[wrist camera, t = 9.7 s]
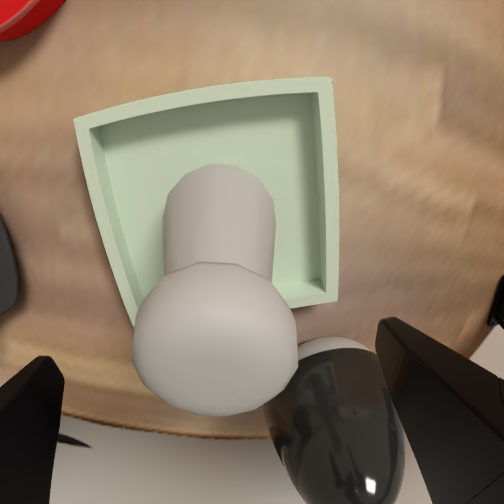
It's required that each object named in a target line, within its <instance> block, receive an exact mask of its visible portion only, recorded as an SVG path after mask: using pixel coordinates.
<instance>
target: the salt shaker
mask: <svg viewBox="0 0 504 504" xmlns="http://www.w3.org/2000/svg"><path fill="white" fill-rule="evenodd" d="M275 233H276V218H275V210H274V202H273V199H272V197H271V196H270V194H269V192H268V191H267V189H266V188H265V186H264V185H263V183H262V182H261V180H260V179H259V178H257V177H256V176H254V175H252V174H250V173H249V172H247V171H245V170H243V169H241V168H240V167H238V166H236V165H225V164H208V165H206V166H203V167H201V168H198V169H196V170H193V171H191V172H189V173H187V174H185V175H184V176H183V177H182V178H181V179H180V181H179V182H178V183H177V184H176V185H175V186H174V187H173V189H172V190H171V191H170V192H169V193H168V196H167V200H166V204H165V209H164V213H163V250H164V272H165V277H163V278H162V279H161V281H160V282H159V283H158V284H157V285H156V286H155V287H154V288H153V289H152V290H151V291H150V293H149V294H148V295H147V296H146V297H145V298H144V299H143V300H142V302H141V304H140V307H139V309H138V311H137V314H136V318H135V326H134V335H133V346H132V362H133V364H134V366H135V368H136V370H137V372H138V374H139V376H140V378H141V380H142V382H143V384H144V385H145V386H146V387H147V388H149V389H150V390H151V391H152V392H153V393H155V394H156V395H157V396H159V397H160V398H161V399H163V400H164V401H166V402H167V403H168V404H170V405H171V406H173V407H175V408H178V409H181V410H184V411H187V412H190V413H193V414H196V415H201V416H231V415H235V414H239V413H244V412H248V411H252V410H255V409H256V408H258V407H260V406H261V405H263V404H264V403H266V402H267V401H269V400H270V399H272V398H273V397H275V396H276V395H277V394H279V393H280V392H281V391H283V390H284V389H285V387H286V386H287V384H288V382H289V381H290V379H291V378H292V376H293V375H294V373H295V371H296V370H297V368H298V346H297V332H296V322H295V319H294V317H293V314H292V312H291V309H290V307H289V306H288V304H287V303H286V301H285V300H284V299H283V297H282V296H281V295H280V293H279V292H278V290H277V289H276V288H275V286H274V285H273V284H272V273H273V260H274V247H275Z"/></svg>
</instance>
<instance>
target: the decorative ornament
mask: <svg viewBox="0 0 504 504" xmlns="http://www.w3.org/2000/svg"><path fill="white" fill-rule="evenodd" d="M64 2H65V0H0V41H6V40H12V39H17V38H19V37H22V36H24V35H26V34H27V33H29V32H31V31H33V30H34V29H36V28H37V27H39V26H40V25H41V24H43V23H44V22H45V21H46V20H47V19H48V18H50V17H51V16H52V15H53V14H54V13H55V12H56V11H57V10H58V9H59V8H60V6H61V5H62V4H63V3H64Z"/></svg>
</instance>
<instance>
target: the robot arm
mask: <svg viewBox="0 0 504 504" xmlns="http://www.w3.org/2000/svg"><path fill="white" fill-rule="evenodd" d="M498 324H499V325H500V326H501V327H502V328H503V329H504V276H503V278H502V280H501V284H500V287H499V290H498V293H497V297H496V300H495V303H494V306H493V309H492V312H491V315H490V317H489V320H488V323H487V325H488V326H489V327H493V326H496V325H498ZM375 348H376V353H377V356H378V359H379V362H380V365H381V368H382V371H383V375H384V378H385V381H386V384H387V388H388V391H389V394H390V397H391V400H392V402H393V405H394V407H395V410H396V412H397V414H398V417H399V419H400V421H401V424H402V426H403V428H404V431H405V433H406V435H407V438H408V441H409V443H410V445H411V448H412V450H413V453H414V455H415V458H416V460H417V463H418V466H419V468H420V471H421V474H422V476H423V479H424V481H425V484H426V486H427V489H428V492H429V495H430V498H431V500H432V503H433V504H504V380H503V379H501V378H498V377H497V376H496V375H495V374H493V373H491V372H489V371H488V370H486V369H484V368H483V367H481V366H479V365H477V364H476V363H474V362H472V361H471V360H469V359H467V358H466V357H464V356H462V355H460V354H459V353H457V352H455V351H454V350H452V349H450V348H448V347H447V346H445V345H443V344H442V343H440V342H438V341H436V340H435V339H433V338H431V337H429V336H428V335H426V334H424V333H423V332H421V331H419V330H417V329H416V328H414V327H412V326H410V325H409V324H407V323H405V322H403V321H402V320H400V319H398V318H396V317H389V318H385V319H381V320H380V321H379V324H378V329H377V335H376V341H375ZM64 383H65V382H64V377H63V374H62V373H61V371H60V370H59V368H58V366H57V365H56V363H55V362H54V360H53V359H52V358H51V357H50V356H38V357H36V358H35V359H34V360H33V361H31V362H30V363H29V364H28V365H26V366H25V367H24V368H23V369H22V370H20V371H19V372H18V373H17V374H16V375H14V376H13V377H12V378H11V379H10V380H8V381H7V382H6V383H5V384H4V385H2V386H1V387H0V504H49V499H50V489H51V480H52V472H53V465H54V458H55V450H56V444H57V439H58V434H59V427H60V418H61V408H62V400H63V391H64Z"/></svg>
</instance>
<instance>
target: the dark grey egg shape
mask: <svg viewBox="0 0 504 504" xmlns="http://www.w3.org/2000/svg"><path fill="white" fill-rule="evenodd" d="M263 409H264V415H265V419H266V423H267V426H268V429H269V432H270V435H271V438H272V441H273V444H274V446H275V449H276V451H277V453H278V456H279V458H280V460H281V462H282V464H283V466H284V468H285V470H286V472H287V474H288V476H289V477H290V479H291V481H292V483H293V484H294V486H295V488H296V489H297V491H298V492H299V494H300V495H301V497H302V498H303V499H304V501H305V502H306V503H307V504H395V502H396V500H397V498H398V495H399V492H400V489H401V485H402V481H403V476H404V468H405V441H404V431H403V426H402V424H401V421H400V419H399V417H398V414H397V412H396V410H395V407H394V405H393V402H392V400H391V397H390V394H389V391H388V388H387V384H386V381H385V378H384V375H383V371H382V368H381V365H380V362H379V359H378V356H377V354H375V353H373V352H371V351H370V350H369V349H368V348H366V347H365V346H363V345H362V344H360V343H358V342H356V341H354V340H350V339H347V338H342V337H323V338H317V339H314V340H311V341H308V342H305V343H303V344H301V345H299V346H298V368H297V370H296V371H295V373H294V375H293V376H292V378H291V379H290V381H289V382H288V384H287V386H286V387H285V389H284V390H283V391H281V392H280V393H279V394H277V395H276V396H275V397H273V398H272V399H270V400H269V401H267V402H266V403H264V404H263Z"/></svg>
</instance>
